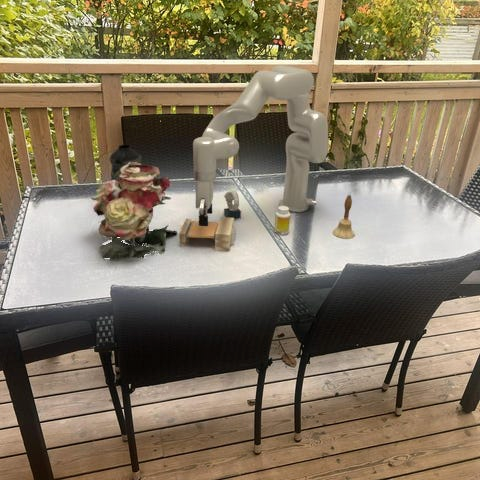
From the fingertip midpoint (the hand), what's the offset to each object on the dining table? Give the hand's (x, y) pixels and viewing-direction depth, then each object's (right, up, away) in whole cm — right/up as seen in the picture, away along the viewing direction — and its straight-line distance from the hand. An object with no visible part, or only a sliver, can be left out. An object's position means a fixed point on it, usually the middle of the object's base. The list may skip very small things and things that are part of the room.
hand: (205, 219), depth 162 cm
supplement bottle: (+28, -5, +12) cm, 31 cm away
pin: (+6, -8, +3) cm, 10 cm away
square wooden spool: (0, -7, +3) cm, 8 cm away
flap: (-1, -4, +2) cm, 5 cm away
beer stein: (-33, +7, +27) cm, 43 cm away
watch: (+9, +2, +22) cm, 23 cm away
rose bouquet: (-25, -9, -2) cm, 27 cm away
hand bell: (+52, -5, +13) cm, 54 cm away
